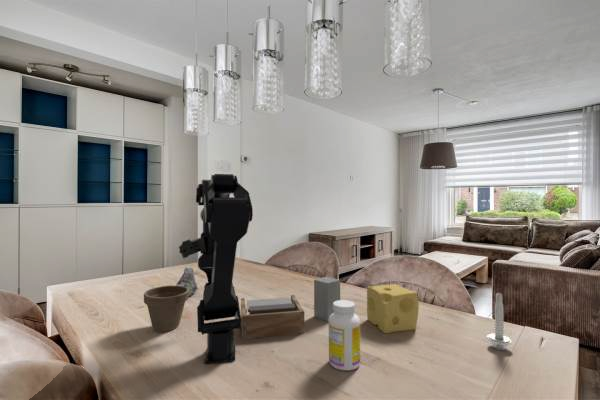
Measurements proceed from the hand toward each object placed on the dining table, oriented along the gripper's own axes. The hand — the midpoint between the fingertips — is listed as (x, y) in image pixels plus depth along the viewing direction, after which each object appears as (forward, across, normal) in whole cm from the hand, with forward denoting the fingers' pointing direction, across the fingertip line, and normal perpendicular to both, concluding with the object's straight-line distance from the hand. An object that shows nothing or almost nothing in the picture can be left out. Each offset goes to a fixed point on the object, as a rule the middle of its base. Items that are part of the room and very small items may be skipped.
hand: (214, 287), depth 81 cm
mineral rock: (+12, -36, -13) cm, 40 cm away
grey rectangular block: (+12, -5, +32) cm, 35 cm away
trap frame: (+12, -3, +15) cm, 19 cm away
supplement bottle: (+12, +21, +28) cm, 37 cm away
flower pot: (+12, -7, -13) cm, 19 cm away
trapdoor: (+9, -3, +15) cm, 18 cm away
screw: (+12, +22, +66) cm, 71 cm away
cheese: (+12, +4, +48) cm, 50 cm away
